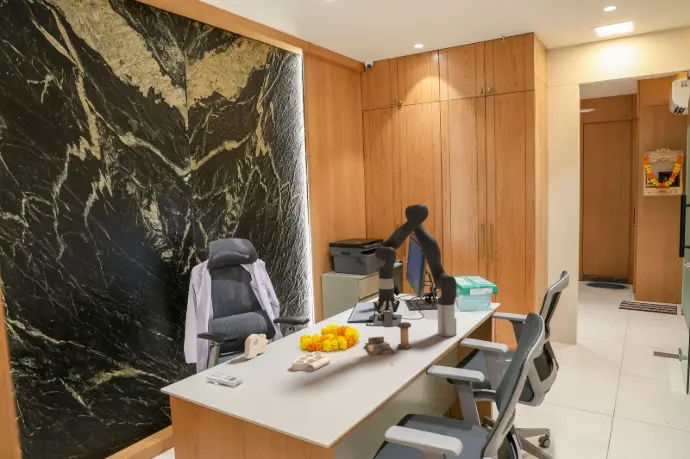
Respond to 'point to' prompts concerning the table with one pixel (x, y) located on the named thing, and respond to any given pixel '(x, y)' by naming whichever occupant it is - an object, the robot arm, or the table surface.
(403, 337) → the bobbin
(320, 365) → the beige block with wells
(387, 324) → the grey brown rectangular block
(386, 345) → the terminal board
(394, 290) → the sculpture
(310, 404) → the table surface
